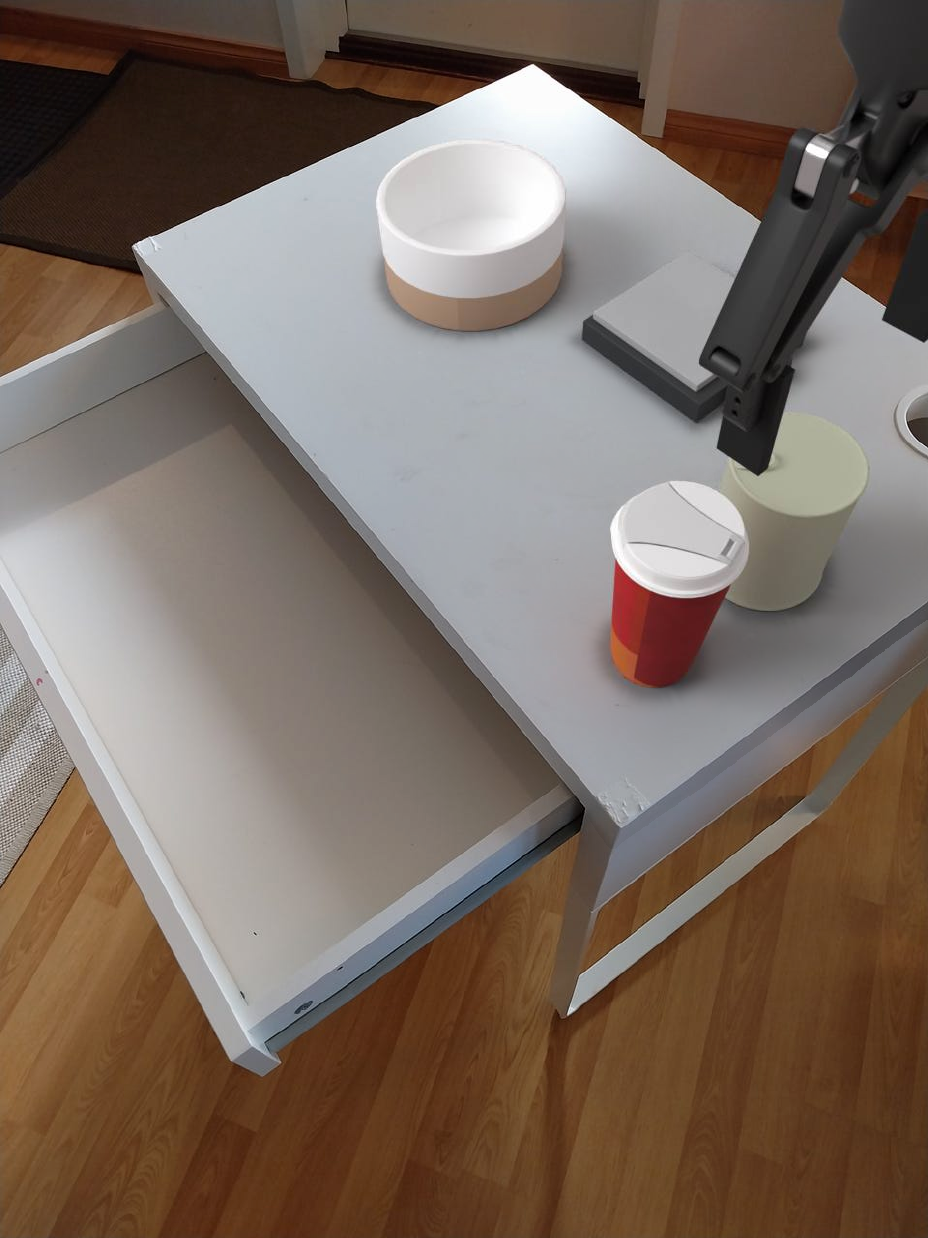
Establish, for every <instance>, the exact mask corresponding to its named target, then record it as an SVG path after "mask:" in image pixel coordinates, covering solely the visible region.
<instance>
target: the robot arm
mask: <svg viewBox="0 0 928 1238" xmlns="http://www.w3.org/2000/svg"><path fill="white" fill-rule="evenodd" d="M837 21H838V22H837V39H838V42H839V45H840V47H841V50H842V51H843V53H844V54H845V56H846V57H847V59H848V61H849V64H850V66H851V67H852V70H853V73H854V77H855V85H854V88H853V90H852V92H851V95H850V97H849V100H848V102H847V105H846V107H845V109H844V111H843V113H842V115H841V117H840V119H839V121H838V124H837V126H836V127H835V128H834V129H832V130H829V131H828V132H826V133H821V132H819V131H817V130H815V129H812V128H810V127H808V126H806V125H803V126H800V127H798V128H797V129H796V131H794V133H793V134H792V135H791V137H790V139H789V141H788V144H787V146H786V149H785V152H784V156H783V159H782V164H781V167H780V169H779V170H780V171H779V174H778V178H777V181H776V185H775V189H774V193H773V195H772V196H771V199H770V201H769V203H768V206H767V207H766V209H765V212H764V214H763V215H762V216H763V217H762V219H761V221H760V223H759V225H758V227H757V229H756V232H755V234H754V236H753V237H752V238H753V239H752V241H751V243H750V245H749V247H748V249H747V250H746V251H747V252H746V253H745V256H744V258H743V260H742V262H741V265H740V267H739V269H738V271H737V273H736V276H735V278H734V279H735V280H734V282H733V284H732V287H731V289H730V291H729V293H728V295H727V298H726V300H725V302H724V304H723V306H722V309H721V311H720V313H719V315H718V317H717V320H716V322H715V324H714V326H713V328H712V331H711V333H710V335H709V337H708V339H707V342H706V344H705V346H704V348H703V350H702V353H701V355H700V358H699V365H700V366H701V367H703V368H705V369H706V370H708V371H709V372H711V373H713V374H714V375H716V376H717V377H719V378H720V379H722V380H724V381H725V382H727V383H728V385H727V390H726V396H725V400H724V403H723V405H722V411H721V413H722V418H721V423H720V429H719V432H718V439H717V443H716V450H718V451H720V452H721V453H723V454H724V455H725V456H727V457H728V456H729V457H730V458H731V459H733V460H734V461H736V462H737V463H739V464H740V465H742V466H743V467H745V468H746V469H748V470H749V471H751V472H752V473H754V474H755V475H757V476H759V475H761V474H762V473H763V472H764V471H765V470H767V469H768V467H769V463H770V459H771V456H772V452H773V448H774V445H775V441H776V437H777V434H778V430H779V427H780V423H781V419H782V416H783V412H785V408H786V404H787V402H788V397H789V393H790V390H791V386H792V383H793V379H794V376H795V372H796V369H795V368H794V367H792V366H791V367H790V366H789V365H787V363H788V361H789V360H790V358H792V356H793V355H794V353H795V352H796V351H797V350H798V349H797V347H798V345H799V344H800V342H801V341H802V339H803V338H804V336H805V334H806V333H807V334H808V332H809V330H810V328H811V326H813V323H814V322H815V320H816V319H817V317H818V316H819V314H820V312H821V311H822V309H823V307H824V306H825V305H826V303H827V302H828V300H829V298H830V297H831V295H832V294H833V292H834V290H835V289H836V288H837V286H838V284H839V282H840V281H841V279H843V276H844V274H845V273H846V272H847V270H848V269H849V267H850V265H851V263H852V262H853V261H854V259H855V257H856V256H857V254H858V253H859V251H860V249H861V248H862V246H863V244H865V242H866V241H867V239H868V238H870V237H874V236H879V235H881V234H882V233H884V232H885V231H886V229H888V227H889V226H890V224H891V222H892V221H893V220H894V217H896V214H897V213H898V212H899V210H900V208H901V207H902V205H903V204H904V202H905V201H906V199H907V197H908V196H909V194H910V192H911V191H912V190H913V189H915V187H916V186H917V185H919V184H922V183H925V182H926V183H927V185H928V0H842V5H841V9H840V13H839V17H838V20H837ZM855 192H857V193H860V194H862V195H864V196H866V197H868V198H871V199H872V200H874V201H876V202H874V203H873V204H871V205H868V206H867V205H864V204H862V203H860V202H858V201H856V200H853V199H852V198H850V197H849V196H850V195H853V194H854V193H855ZM881 321H882V322H884V323H886V324H888V325H889V326H891V327H893V328H895V329H897V330H899V331H901V332H903V333H905V334H906V335H908V336H910V337H911V338H913V339H916V340H917V341H920V342H921V343H922V344H923V343H924V344H925V343H926V342H928V207H927V208H926V209H924V210H923V211H922V212H920V213H919V214H918V217H917V220H916V222H915V225H914V228H913V231H912V233H911V236H910V239H909V242H908V245H907V247H906V250H905V253H904V256H903V259H902V262H901V264H900V267H899V270H898V273H897V275H896V278H895V282H894V284H893V287H892V290H891V292H890V295H889V298H888V301H887V304H886V307H885V308H884V312H883V314H882V318H881ZM807 334H806V335H807Z"/></svg>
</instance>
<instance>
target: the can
mask: <svg viewBox="0 0 928 1238" xmlns="http://www.w3.org/2000/svg"><path fill="white" fill-rule="evenodd" d="M727 457H728V458H727V462H726V465H725V470H724V472H723V477H722V480H721V484H720V487H719V490H718V492H719V493H721V494H722V495H724V496H725V497H726V498H727V499H728V500H729V501H730V502H731V503H732V504H733V505H734V506H735V507H736V509H737V510H738V512H739V514H740V515H741V518H742V520H743V523H744V527H745V530H746V532H747V535H748V540H749V555H748V559H747V562H746V565H745V567H744V569H743V571H742V572H741V574H740V575H739V576H738V578H737V579H735V580H734V581H733V582H732V583H731V585H730V588H729V590H728V592H727V594H726V596H725V598H724V599H726V600H727V601H729V602H731V603H733V604H735V605H737V606H740V607H742V608H744V609H745V608H746V609H749V610H753V611H759V612H778V611H779V612H780V611H784V610H788V609H791V608H794V607H796V606H798V605H800V604H802V603H803V602H804V601H806V600H807V599H808V598H810V597H811V596H812V595H813V594H814V592H815V591H816V590H817V589H818V586H819V585H820V583H821V580H822V577H823V573H824V569H825V568H826V566H827V564H828V561H829V559H830V557H831V555H832V553H833V551H834V549H835V546H836V545H837V543H838V542H839V539H840V537H841V535H842V533H843V531H844V529H845V527H846V526H847V525H846V524H847V523H848V521H849V519H850V517H851V515H852V513H853V511H854V510H855V508H856V506H857V504H858V501H859V500H860V498H861V497H862V496H863V494H864V492H865V491H866V489H867V487H868V484H869V479H870V464H869V460H868V457H867V455H866V452H865V451H864V449H863V447H862V446H861V444H860V442H858V440H857V439H856V438H855V437H854V436H853V435H852V434H851V433H850V432H848V431H847V430H845V429H844V428H843V427H841V426H839V425H838V424H837V423H835V422H833V421H830V420H829V419H827V418H824V417H821V416H818V415H814V414H811V413H805V412H797V411H786V412H785V411H784V412H783V416H782V419H781V423H780V427H779V430H778V434H777V437H776V441H775V445H774V448H773V452H772V456H771V459H770V463H769V467H768V469H767V470H765V471H764V472H763V473H762V474H761V475H759V476H757V475H755V474H754V473H752V472H751V471H749V470H748V469H746V468H745V467H743V466H742V465H740V464H739V463H737V462H736V461H734V460H733V459H731V458H730V457H729V456H727Z"/></svg>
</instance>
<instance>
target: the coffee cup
mask: <svg viewBox="0 0 928 1238" xmlns="http://www.w3.org/2000/svg"><path fill="white" fill-rule="evenodd" d="M609 531H610V537H611V539H610V540H611V549H612V552H613V555H614V558H615V559H614V575H613V589H612V590H613V591H612V607H611V621H610V622H611V625H610V654H611V659H612V661H613V664H614V666H615V668H616V669H617V670H618V671H619V673H620V674H621V675H622V676H623V677H624V678H626V679H627V680H628V681H630V682H631V683H634V684H636V685H639V686H642V687H646V688H663V687H668V686H670V685H673V684H676V683H677V682H678V681H680V680H681V679H683V677H684V676H685V675H686V674H687V673H688V672H689V670H690V669H691V667H692V665H693V663H694V661H695V659H696V658H697V656H698V653H700V650H701V648H702V645H703V643H704V641H705V639H706V637H707V635H708V634H709V631H710V628H711V627H712V625H713V622H714V620H715V618H716V616H717V614H718V612H719V609H720V608H721V606H722V604H723V602H724V601H725V599H726V598H725V596H726V594H727V592H728V590H729V588H730V585H731V583H732V582H733V581H734V580H735V579H737V578H738V576H739V575H740V574H741V572H742V571H743V569H744V567H745V565H746V562H747V559H748V555H749V540H748V535H747V532H746V530H745V527H744V523H743V520H742V518H741V515H740V514H739V512H738V510H737V509H736V507H735V506H734V505H733V504H732V503H731V502H730V501H729V500H728V499H727V498H726V497H725V496H724V495H722V494H721V493H719V490H718V491H717V490H716V489H714V488H711V487H710V486H707V485H706V484H705V485H704V484H701V483H699V482H693V481H687V480H670V481H666V482H663V483H659V484H656V485H654V486H651V487H648V488H647V489H645V490H643V491H642V492H640V493H638V494H636V495H634V496H633V497H631V498H630V499H628V500H627V502H626V503H624V504H622V505H621V507H620V508H619V509H618V510H617V512H616V513H615V515H614V517H613V519H612V521H611V523H610V527H609Z"/></svg>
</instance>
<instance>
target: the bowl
mask: <svg viewBox="0 0 928 1238" xmlns="http://www.w3.org/2000/svg"><path fill="white" fill-rule="evenodd" d="M566 206H567V190H566V186H565V183H564V179H563V177H562V175H561V174H560V173H559V171H558V169H557V168H556V166H554V164H552V163H551V162H550V161H549V160H548V159H547V158H545V157H543V156H542V155H540V154H538V153H537V152H535V151H534V150H532V149H529V148H528V147H527V148H526V147H524V146H521V145H519V144H515V143H512V142H507V141H504V140H494V139H485V138H483V139H481V138H478V139H477V138H475V139H474V138H473V139H472V138H471V139H460V140H458V139H457V140H449V141H446V142H442V143H438V144H433V145H431V146H428V147H425V148H423V149H420V150H418V151H416V152H414V153H412V154H410V155H408V156H407V157H404V158H403V159H402V160H401V161H399V162H398V163H396V165H394V166H393V167H392V168H391V169H390V170H389V171H388V173H386V174H385V176H384V177H383V179H382V180H381V183H380V184H379V187H378V188H377V193H376V199H375V207H376V214H377V222H378V228H379V236H380V244H381V251H382V255H383V262H384V270H385V276H386V277H385V278H386V284H387V288H388V290H389V292H390V295H391V296H392V298H393V299H394V300H395V302H396V303H397V304H398V306H399V307H400V308H401V309H402V310H404V311H405V312H406V313H407V314H409V315H410V316H412V317H413V318H415V319H417V320H419V321H421V322H423V323H425V324H427V325H431V326H434V327H437V328H440V329H445V330H453V331H459V332H479V331H487V330H495V329H499V328H503V327H506V326H510V325H513V324H516V323H518V322H521V321H522V320H525V319H528V318H529V317H531V316H532V315H533V314H535V313H537V312H538V311H539V310H541V309H542V308H543V307H544V306H545V305H546V304H547V303H548V302H549V301H550V300H551V299H552V297H553V296H554V294H556V293H555V292H556V291H557V290H558V288H559V285H560V281H561V278H562V275H563V274H562V273H563V255H564V244H565V226H566V225H565V224H566V209H567V207H566Z"/></svg>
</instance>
